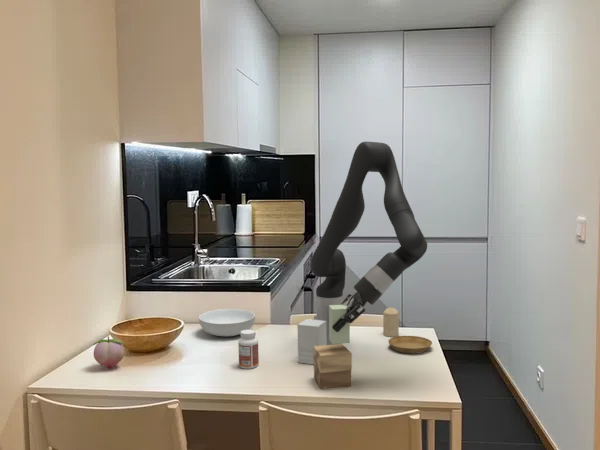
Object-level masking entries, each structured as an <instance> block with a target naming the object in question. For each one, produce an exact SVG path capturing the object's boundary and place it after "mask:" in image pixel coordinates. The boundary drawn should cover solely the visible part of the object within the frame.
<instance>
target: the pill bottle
mask: <svg viewBox="0 0 600 450" xmlns="http://www.w3.org/2000/svg"><path fill="white" fill-rule="evenodd" d="M256 333H257V332H256V330H254V329H249V330H243V331H241V334H240V338H239V339H238V342H237V343H238V344H237V345H238V366H239V368H241V369H244V370H245V369H246V370H247V369H248V370H250V369H255V368H257V367H258V366H259V362H260V361H259V356H260V355H259V340H258V338H257V337H256Z"/></svg>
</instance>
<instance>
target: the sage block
mask: <svg viewBox="0 0 600 450" xmlns="http://www.w3.org/2000/svg"><path fill="white" fill-rule="evenodd" d="M346 307H347V305H329V339H330V341H331V343H332V344H342V343H343V344H351V341H350V340H351V339H350V334H351V332H350V330H351V327H350V325H351V324H350V323H348V324H347V323H346V324H345V325H344V327H343V328H342V329H341V330H340V331H339V332H336V331H335V330H334V329H333V328H332V326H333V325H334V324H335V323H336V322H337V321H338V320H339V319H340V318H341V317H342V315H343V314H344V313H345V312H346V311H345V310H346ZM349 310H350V309H349ZM349 317H350V316H349Z"/></svg>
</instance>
